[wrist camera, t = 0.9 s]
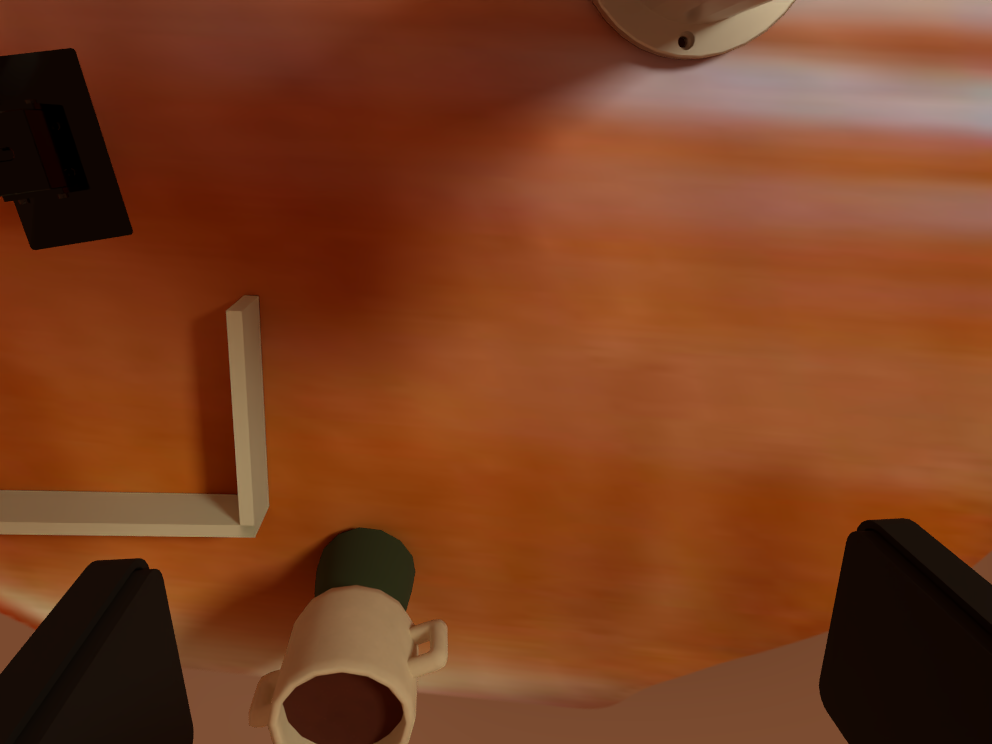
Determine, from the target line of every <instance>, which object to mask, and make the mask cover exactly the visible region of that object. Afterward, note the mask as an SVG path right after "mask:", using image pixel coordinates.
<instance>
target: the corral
mask: <svg viewBox="0 0 992 744" xmlns="http://www.w3.org/2000/svg"><path fill="white" fill-rule="evenodd" d="M226 320H227V335H228V350H229V365H230V380H231V396H232V411H233V426H234V441H235V456H236V472H237V487H238V495H236V494H182V493H128V492H75V491H21V490H0V534H20V535H100V536H179V537H255V536H256V534H257V532H258V530H259V527H260V525H261V523H262V521H263V518H264V516H265V514H266V512H267V510H268V507H269V496H268V475H267V455H266V434H265V414H264V394H263V373H262V353H261V332H260V312H259V296H249V295H244V296H243V297H242V298H240V299H239V300H238V301H237V302H236V303H234V304H233V305H232V306H231V307H230V308H229V309H227V310H226Z"/></svg>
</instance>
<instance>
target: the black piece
mask: <svg viewBox="0 0 992 744" xmlns="http://www.w3.org/2000/svg"><path fill="white" fill-rule="evenodd" d="M1 196H2V197H3V199H4V202H7V201H14V203H15V206H16V209H17V211H18V214H19V217H20V220H21V222H22V225H23V228H24V231H25V233H26V236H27V239H28V241H29V244H30V247H31V248H32V249H33V250H39V249H45V248H51V247H57V246H63V245H70V244H76V243H82V242H88V241H94V240H101V239H107V238H113V237H119V236H125V235H131V234H132V233H133V230H132V227H131V224H130V221H129V218H128V214H127V211H126V208H125V205H124V202H123V199H122V196H121V192H120V189H119V186H118V183H117V180H116V177H115V174H114V171H113V167H112V164H111V161H110V158H109V155H108V152H107V149H106V145H105V142H104V139H103V136H102V133H101V130H100V127H99V123H98V120H97V117H96V114H95V111H94V108H93V105H92V102H91V98H90V95H89V92H88V89H87V86H86V83H85V80H84V76H83V73H82V70H81V67H80V64H79V61H78V58H77V54H76V52H75V50H74V49H72V48H68V49H59V50H51V51H42V52H34V53H25V54H16V55H8V56H0V197H1Z"/></svg>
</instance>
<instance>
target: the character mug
mask: <svg viewBox="0 0 992 744" xmlns="http://www.w3.org/2000/svg"><path fill="white" fill-rule="evenodd" d="M414 576H415V568H414V562H413V557H412V555H411V554H410V553H409V551H408V550H407V549H406V547H405V546H404V545H403V544H402V542H401V541H400V540H398V539H396V538H394V537H393V536H391V535H389V534H387V533H385V532H384V531H382V530H376V529H367V528H356V529H353V530H350V531H347V532H344V533H341V534H338V535H337V536H336V537H335V538H334V539H333V540H332V541H331V542H330V543H329V544H328V545H327V546H326V547H325V548H324V549H323V552H322V555H321V558H320V561H319V564H318V567H317V573H316V582H315V598H314V599H312V600H311V601H310V602H309V604H308V605H307V606H306V608H305V609H304V610H303V611H302V613H301V614H300V615H299V617H298V618H297V620H296V621H295V623H294V626H293V629H292V632H291V636H290V639H289V643H288V646H287V650H286V653H285V656H284V660H283V663H282V667H281V669H280V670H277V671H274V672H270V673H268V674H266V675H265V676H263V677H262V678H261V680H260V681H259V683H258V685H257V688H256V691H255V694H254V697H253V700H252V704H251V707H250V710H249V726H252V727H264V726H268V729H269V732H270V735H271V738H272V742H273V744H408V742H409V739H410V736H411V732H412V729H413V725H414V721H415V717H416V698H417V682H418V677H420V676H423V675H426V674H430V673H433V672H436V671H438V670H440V669H442V668H443V667H445V665H446V662H447V658H448V639H447V626H446V624H445V622H444V621H442V620H440V619H438V620H431V621H428V622H425V623H422V624H419V625H416V626H415V625H414V623H413V622H412V620H411V619H410V617H409V616H408V614H407V613H406V609H407V606H408V602H409V599H410V595H411V592H412V587H413V581H414ZM428 641H430V651H429V652H427V653H425V654H422V655H418V645H419V644H422V643H425V642H428ZM272 698H273V699H272ZM271 702H272V703H271Z"/></svg>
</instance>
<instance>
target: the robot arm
mask: <svg viewBox="0 0 992 744" xmlns="http://www.w3.org/2000/svg"><path fill="white" fill-rule="evenodd" d="M795 1H796V0H592V2H593V3H594V4H595V6H596V7H597V9H598V10H599V12H600V13H601V15H602V16H603V18H604V19H605V20H606V21H607V22H608V23H609V24H610V25H611V26H612V27H613V28H614V29H615V30H616V31H617V32H618V33H619V34H620V35H621V36H622V37H623V38H625V39H626V40H628V41H629V42H631V43H633V44H634V45H636V46H637V47H639V48H640V49H643V50H645V51H648V52H651V53H653V54H656V55H659V56H661V57H668V58H675V59H682V60H687V59H700V58H708V57H711V56H716V55H720V54H724V53H726V52H729V51H731V50H734V49H736V48H739V47H741V46H744V45H746V44H747V43H749V42H750V41H752V40H754V39H755V38H757V37H758V36H760V35H761V34H763V33H764V32H766V31H767V30H768V29H769V28H770V27H771V26H772V25H773V24H775V23H776V22H777V21H778V20H779V19H780V18H781V17H782V16H783V15H784V14H785V13H786V12H787V11H788V9H789V8H790V7H791V6H792V4H793V3H794V2H795ZM680 37H682V38H683V39H684V40H685V44H684V46H683V47H682V48H681V47H680V46H679V45H678V39H679V38H680ZM819 689H820V695H821V700H822V702H823V705H824V707H825V709H826V711H827V712H828V714H829V715H830V717H831V718H832V720H833V721H834V723H835V724H836V726H837V727H838V728H839V730H840V732H841V733H842V734H843V736H844V738H845V739H846V740H847V742H848V743H849V744H992V585H991V584H990V583H989V582H988V581H987V580H985V579H984V578H983V577H981V576H980V575H979V574H978V573H977V572H975V571H974V570H973V569H972V568H971V567H969V566H968V565H967V564H966V563H964V562H963V561H962V560H961V559H959V558H958V557H957V556H956V555H955V554H953V553H952V552H951V551H950V550H948V549H947V548H946V547H945V546H943V545H942V544H941V543H940V542H939V541H937V540H936V539H935V538H934V537H932V536H931V535H930V534H929V533H927V532H926V531H925V530H924V529H922V528H921V527H920V526H919V525H918V524H916V523H915V522H913V521H911V520H910V519H904V518H900V519H881V520H866V521H864V522H862V523H861V524H860V525H859V526H858V528H857V531H855V532H852V533H851V534H850V535H849V536H848V538H847V541H846V546H845V551H844V557H843V562H842V567H841V572H840V577H839V582H838V587H837V593H836V598H835V603H834V608H833V613H832V618H831V624H830V629H829V634H828V639H827V644H826V649H825V655H824V660H823V665H822V670H821V675H820V682H819ZM0 744H193V723H192V718H191V714H190V709H189V704H188V699H187V694H186V689H185V684H184V679H183V674H182V669H181V664H180V659H179V654H178V649H177V644H176V639H175V634H174V629H173V625H172V620H171V615H170V610H169V605H168V600H167V595H166V590H165V585H164V580H163V577H162V574H161V572H160V571H159V570H158V569H149V567H148V564H147V563H146V561H145V560H143V559H141V558H136V559H117V560H98V561H94V562H92V563H91V564H90V565H88V566H87V567H86V569H85V570H84V571H83V572H82V574H81V575H80V576H79V577H78V579H77V580H76V581H75V582H74V584H73V585H72V586H71V587H70V589H69V590H68V591H67V592H66V593H65V595H64V596H63V597H62V598H61V600H60V601H59V602H58V603H57V605H56V606H55V607H54V608H53V610H52V611H51V612H50V613H49V615H48V616H47V617H46V618H45V620H44V621H43V622H42V623H41V624H40V626H39V627H38V628H37V629H36V631H35V632H34V633H33V634H32V636H31V637H30V638H29V639H28V641H27V642H26V643H25V644H24V646H23V647H22V648H21V650H20V651H19V652H18V653H17V654H16V655H15V657H14V658H13V659H12V660H11V662H10V663H9V664H8V665H7V667H6V668H5V669H4V670H3V672H2V673H1V674H0Z"/></svg>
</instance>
